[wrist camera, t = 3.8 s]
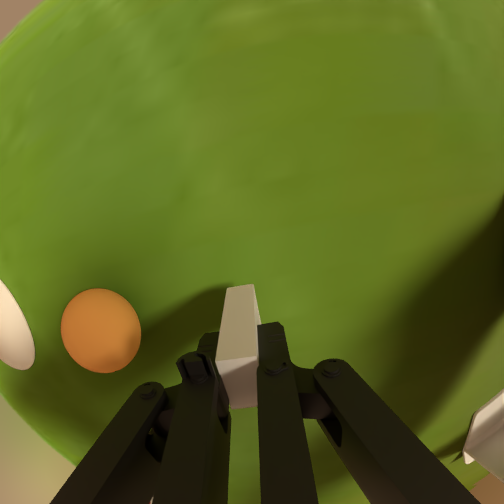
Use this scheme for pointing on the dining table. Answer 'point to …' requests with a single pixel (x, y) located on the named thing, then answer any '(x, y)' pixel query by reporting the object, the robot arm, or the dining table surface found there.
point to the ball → (101, 330)
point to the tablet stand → (487, 437)
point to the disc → (14, 333)
